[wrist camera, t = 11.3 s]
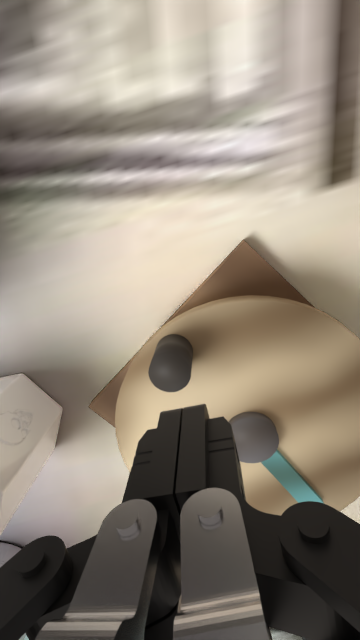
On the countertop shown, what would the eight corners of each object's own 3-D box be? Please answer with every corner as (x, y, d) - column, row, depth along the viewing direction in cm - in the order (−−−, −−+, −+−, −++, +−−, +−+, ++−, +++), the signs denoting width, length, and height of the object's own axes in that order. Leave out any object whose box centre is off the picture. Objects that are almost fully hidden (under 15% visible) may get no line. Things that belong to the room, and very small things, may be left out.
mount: (243, 516, 32) (246, 543, 29) (92, 400, 29) (81, 419, 26) (407, 396, 26) (429, 416, 24) (243, 239, 23) (247, 243, 21)
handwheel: (436, 440, 24) (485, 491, 20) (226, 551, 29) (229, 610, 25) (278, 232, 20) (297, 240, 16) (68, 401, 25) (40, 441, 21)
